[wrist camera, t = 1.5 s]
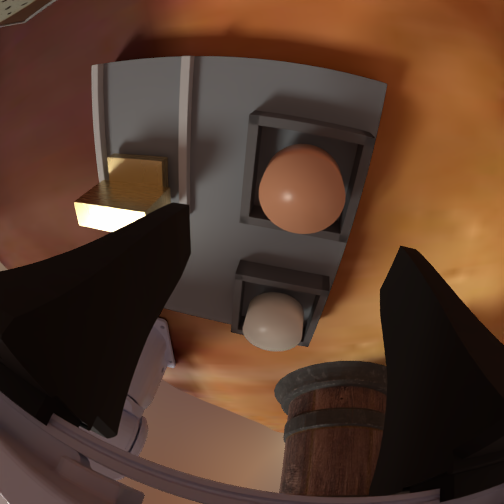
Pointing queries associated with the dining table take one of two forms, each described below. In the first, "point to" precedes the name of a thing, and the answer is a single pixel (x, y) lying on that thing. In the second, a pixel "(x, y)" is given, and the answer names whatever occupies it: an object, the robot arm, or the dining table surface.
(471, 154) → the dining table surface
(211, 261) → the control panel
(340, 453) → the tankard
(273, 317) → the cream button
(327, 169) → the terracotta button
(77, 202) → the tall mustard sponge block
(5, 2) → the food container
